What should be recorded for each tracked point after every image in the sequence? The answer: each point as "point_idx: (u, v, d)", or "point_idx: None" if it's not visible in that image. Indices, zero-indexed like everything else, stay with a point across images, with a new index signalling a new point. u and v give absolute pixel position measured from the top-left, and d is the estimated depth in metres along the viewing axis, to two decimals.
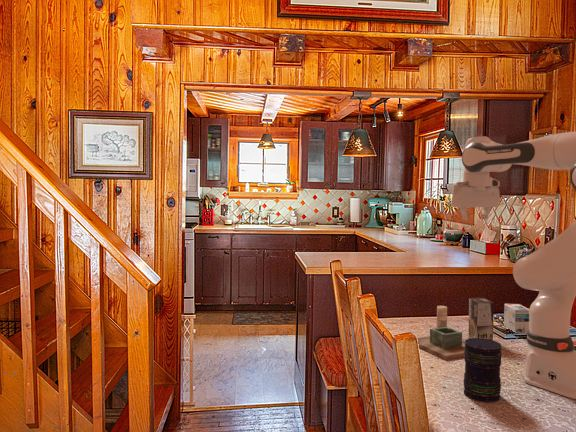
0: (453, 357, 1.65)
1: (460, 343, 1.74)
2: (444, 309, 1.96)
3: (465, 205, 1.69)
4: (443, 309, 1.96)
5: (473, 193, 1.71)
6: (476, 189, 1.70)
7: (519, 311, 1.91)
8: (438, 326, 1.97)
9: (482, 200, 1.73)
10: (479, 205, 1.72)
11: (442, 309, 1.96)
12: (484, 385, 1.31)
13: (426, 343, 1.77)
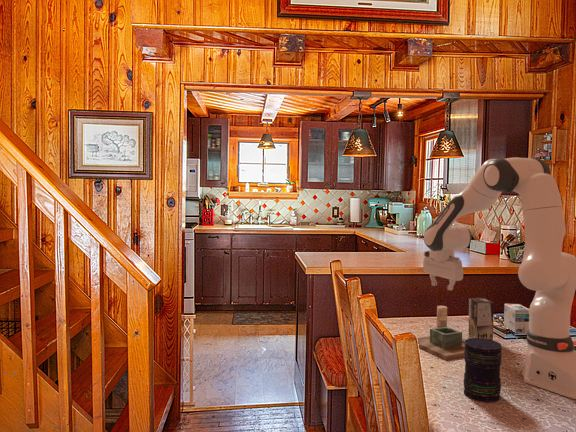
0: (453, 357, 1.65)
1: (460, 343, 1.74)
2: (444, 309, 1.96)
3: None
4: (443, 309, 1.96)
5: None
6: None
7: (519, 311, 1.91)
8: (438, 326, 1.97)
9: None
10: None
11: (442, 309, 1.96)
12: (484, 385, 1.31)
13: (426, 343, 1.77)
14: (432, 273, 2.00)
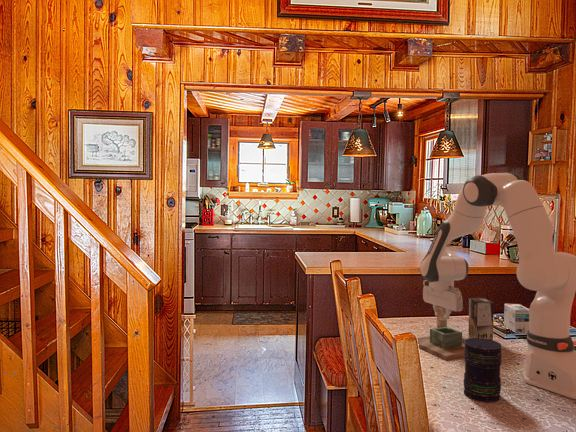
0: (453, 357, 1.65)
1: (460, 343, 1.74)
2: (444, 309, 1.96)
3: None
4: (443, 309, 1.96)
5: None
6: None
7: (519, 311, 1.91)
8: (438, 326, 1.97)
9: None
10: None
11: (442, 309, 1.96)
12: (484, 385, 1.31)
13: (426, 343, 1.77)
14: (432, 302, 2.01)
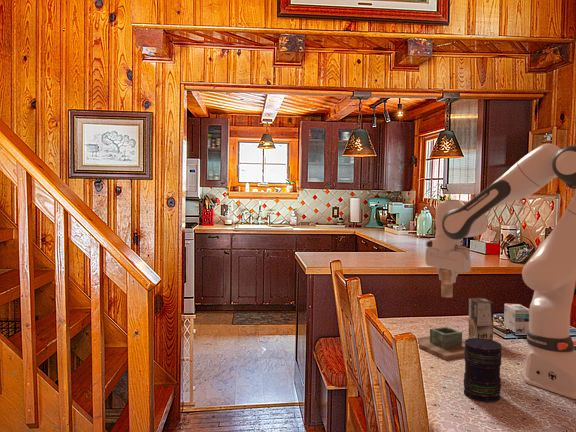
0: (453, 357, 1.65)
1: (460, 343, 1.74)
2: (449, 272, 1.73)
3: None
4: (448, 272, 1.73)
5: None
6: None
7: (519, 311, 1.91)
8: (443, 291, 1.74)
9: None
10: None
11: (447, 272, 1.73)
12: (484, 385, 1.31)
13: (426, 343, 1.77)
14: (436, 265, 1.78)
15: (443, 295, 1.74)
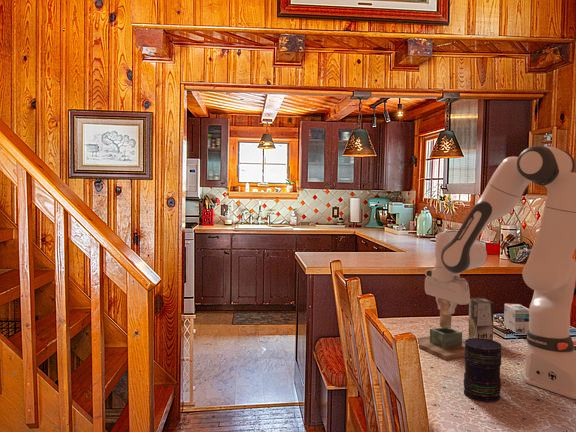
0: (453, 357, 1.65)
1: (460, 343, 1.74)
2: (448, 302, 1.74)
3: None
4: (447, 302, 1.74)
5: None
6: None
7: (519, 311, 1.91)
8: (441, 321, 1.75)
9: None
10: None
11: (446, 302, 1.74)
12: (484, 385, 1.31)
13: (426, 343, 1.77)
14: (435, 295, 1.78)
15: (442, 325, 1.75)
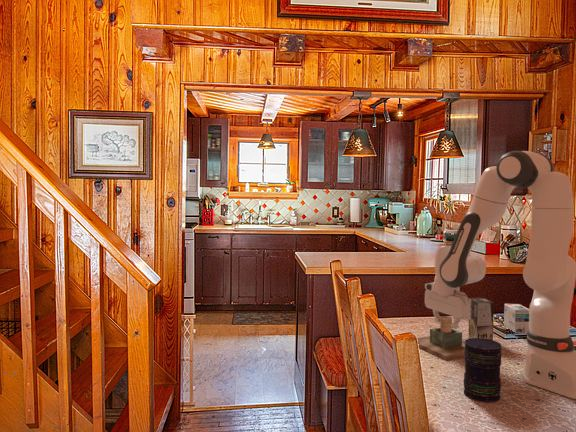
0: (453, 357, 1.65)
1: (460, 343, 1.74)
2: (448, 320, 1.74)
3: None
4: (447, 320, 1.74)
5: None
6: None
7: (519, 311, 1.91)
8: None
9: None
10: None
11: (446, 320, 1.74)
12: (484, 385, 1.31)
13: (426, 343, 1.77)
14: (435, 308, 1.79)
15: None
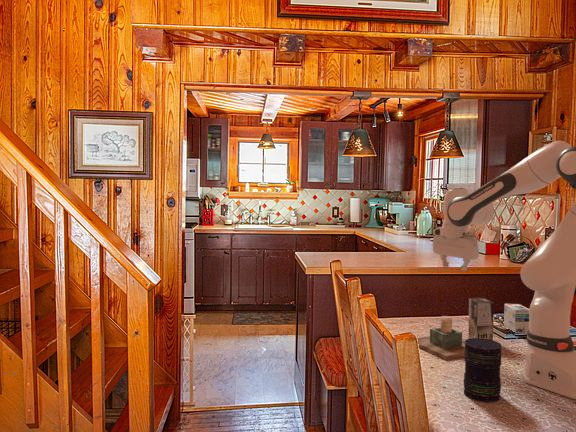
0: (453, 357, 1.65)
1: (460, 343, 1.74)
2: (449, 320, 1.74)
3: None
4: (448, 320, 1.74)
5: None
6: None
7: (519, 311, 1.91)
8: None
9: None
10: None
11: (446, 320, 1.74)
12: (484, 385, 1.31)
13: (426, 343, 1.77)
14: (443, 253, 1.81)
15: None
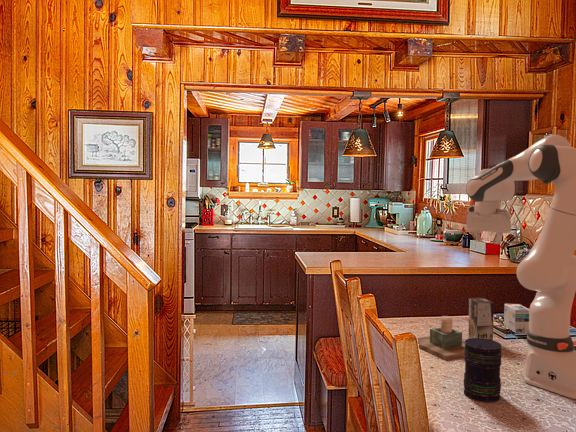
0: (453, 357, 1.65)
1: (460, 343, 1.74)
2: (449, 320, 1.74)
3: None
4: (448, 320, 1.74)
5: None
6: None
7: (519, 311, 1.91)
8: None
9: None
10: None
11: (447, 320, 1.74)
12: (484, 385, 1.31)
13: (426, 343, 1.77)
14: (477, 228, 1.97)
15: None
